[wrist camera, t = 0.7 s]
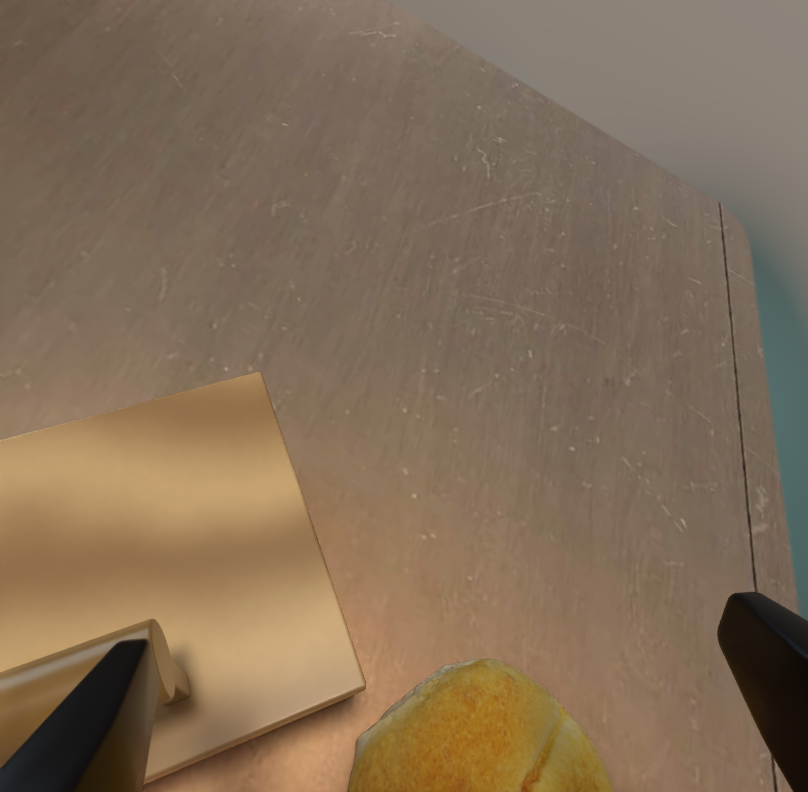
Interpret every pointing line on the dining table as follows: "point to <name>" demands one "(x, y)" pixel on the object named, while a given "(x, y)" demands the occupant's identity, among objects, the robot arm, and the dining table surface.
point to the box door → (168, 571)
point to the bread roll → (477, 738)
